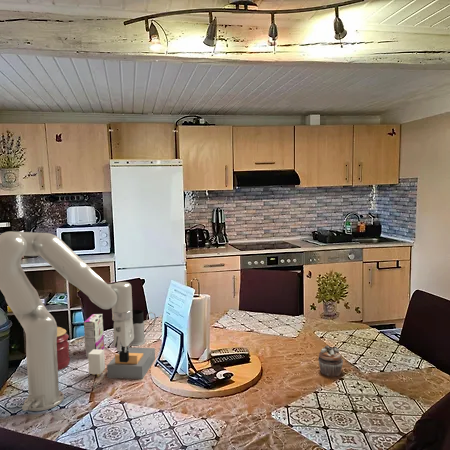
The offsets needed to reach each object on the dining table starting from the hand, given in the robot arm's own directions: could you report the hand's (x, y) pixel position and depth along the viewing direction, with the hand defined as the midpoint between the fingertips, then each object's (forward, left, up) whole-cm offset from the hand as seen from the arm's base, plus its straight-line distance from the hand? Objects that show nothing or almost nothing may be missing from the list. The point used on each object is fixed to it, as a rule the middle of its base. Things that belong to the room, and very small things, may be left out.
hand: (124, 361), depth 155 cm
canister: (+9, +34, -7) cm, 36 cm away
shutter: (+6, 0, -2) cm, 7 cm away
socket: (+9, 0, -7) cm, 12 cm away
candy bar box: (+23, +22, -7) cm, 33 cm away
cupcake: (+11, -80, -7) cm, 81 cm away
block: (+2, +12, -7) cm, 14 cm away
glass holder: (+38, +5, -7) cm, 39 cm away
